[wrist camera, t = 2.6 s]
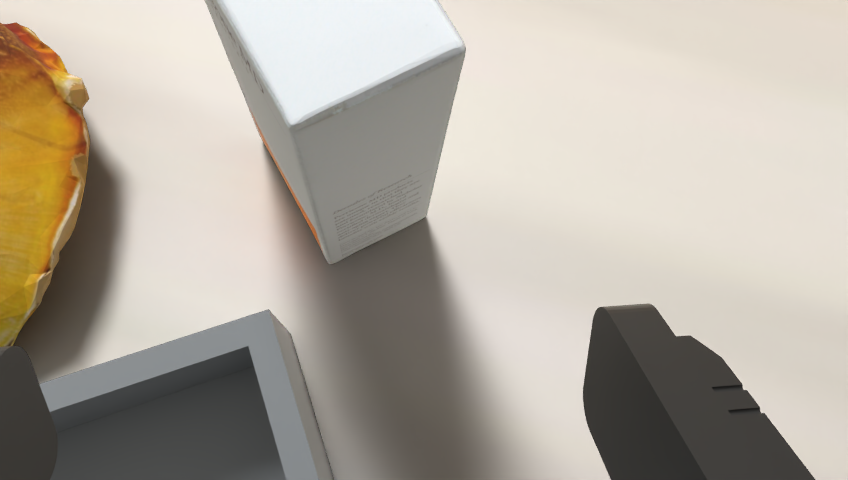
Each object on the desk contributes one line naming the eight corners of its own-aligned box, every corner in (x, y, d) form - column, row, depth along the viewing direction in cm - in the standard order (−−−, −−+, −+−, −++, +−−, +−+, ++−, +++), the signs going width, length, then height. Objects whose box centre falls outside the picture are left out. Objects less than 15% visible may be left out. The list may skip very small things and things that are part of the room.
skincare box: (256, 136, 26) (157, -105, 14) (355, 90, 26) (340, -173, 15) (328, 273, 24) (286, 132, 13) (431, 221, 25) (478, 43, 14)
